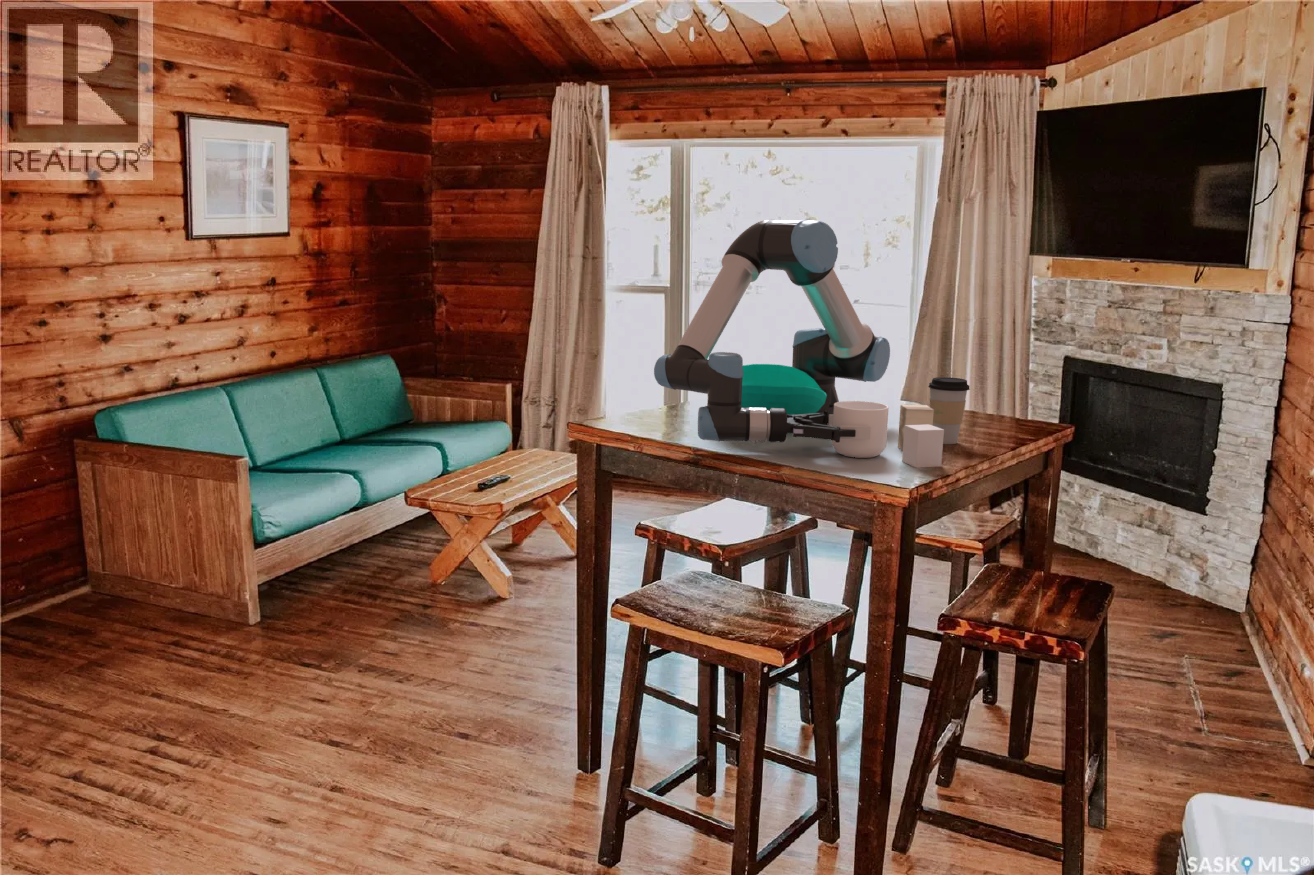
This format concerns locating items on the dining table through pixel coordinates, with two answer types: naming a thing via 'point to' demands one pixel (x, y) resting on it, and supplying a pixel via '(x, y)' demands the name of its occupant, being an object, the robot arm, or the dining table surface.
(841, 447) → the handleless ceramic cup
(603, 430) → the dining table surface
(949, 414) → the coffee cup
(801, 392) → the table top decor
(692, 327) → the robot arm
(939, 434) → the pale pink block
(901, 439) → the birch block
